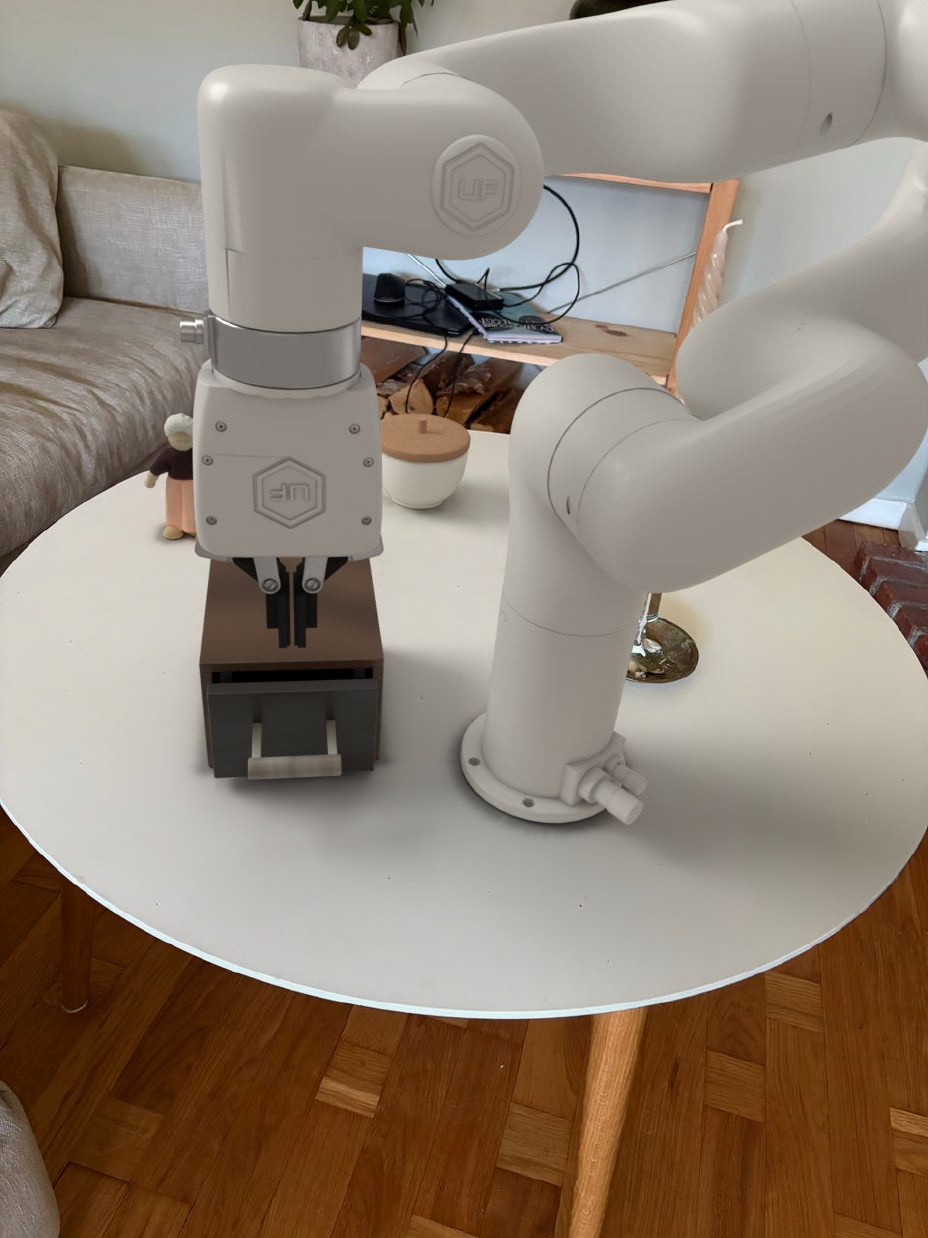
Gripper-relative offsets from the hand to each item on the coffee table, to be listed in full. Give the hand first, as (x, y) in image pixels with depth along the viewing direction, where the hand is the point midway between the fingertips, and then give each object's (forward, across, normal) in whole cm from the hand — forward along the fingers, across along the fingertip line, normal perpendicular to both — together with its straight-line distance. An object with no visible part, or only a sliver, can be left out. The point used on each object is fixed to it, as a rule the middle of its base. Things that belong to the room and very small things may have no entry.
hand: (292, 634), depth 59 cm
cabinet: (+15, 0, +12) cm, 19 cm away
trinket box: (+15, +14, +47) cm, 51 cm away
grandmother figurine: (+15, -10, +39) cm, 43 cm away
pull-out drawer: (+14, 0, +7) cm, 16 cm away
